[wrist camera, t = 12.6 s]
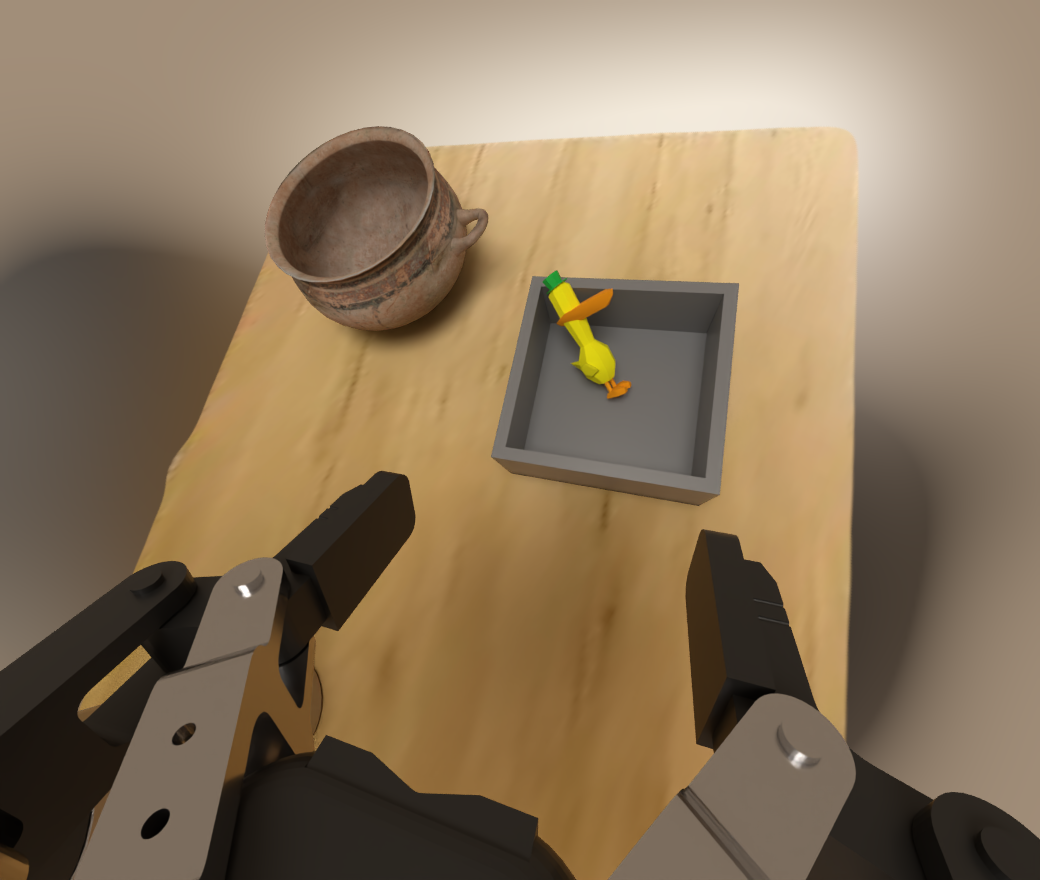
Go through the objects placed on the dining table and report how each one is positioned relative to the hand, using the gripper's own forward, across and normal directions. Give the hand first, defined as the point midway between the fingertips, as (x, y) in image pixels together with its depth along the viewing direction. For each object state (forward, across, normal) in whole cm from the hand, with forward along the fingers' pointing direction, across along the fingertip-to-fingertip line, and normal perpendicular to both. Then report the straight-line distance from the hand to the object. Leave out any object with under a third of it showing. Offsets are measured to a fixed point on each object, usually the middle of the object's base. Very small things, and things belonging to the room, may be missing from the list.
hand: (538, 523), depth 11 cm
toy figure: (+27, -1, +7) cm, 28 cm away
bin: (+28, 0, +9) cm, 29 cm away
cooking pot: (+37, +26, 0) cm, 45 cm away
